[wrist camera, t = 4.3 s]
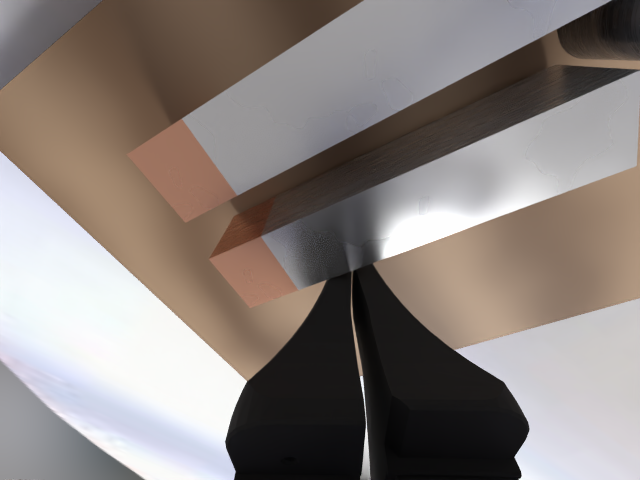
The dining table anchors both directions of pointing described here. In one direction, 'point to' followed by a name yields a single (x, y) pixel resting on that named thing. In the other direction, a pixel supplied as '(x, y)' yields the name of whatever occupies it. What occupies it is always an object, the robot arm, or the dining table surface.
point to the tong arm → (438, 180)
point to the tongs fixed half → (360, 85)
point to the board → (294, 178)
